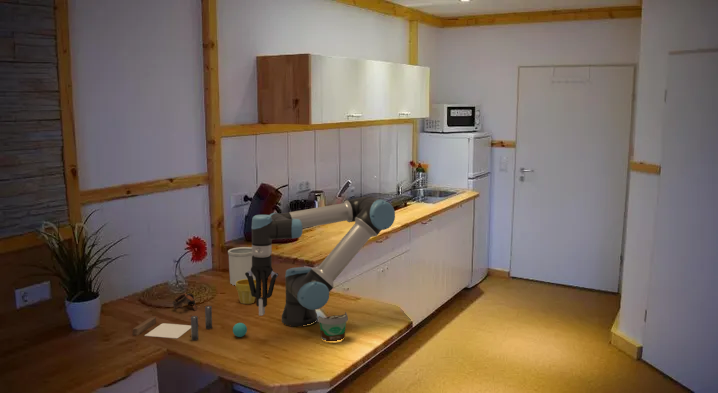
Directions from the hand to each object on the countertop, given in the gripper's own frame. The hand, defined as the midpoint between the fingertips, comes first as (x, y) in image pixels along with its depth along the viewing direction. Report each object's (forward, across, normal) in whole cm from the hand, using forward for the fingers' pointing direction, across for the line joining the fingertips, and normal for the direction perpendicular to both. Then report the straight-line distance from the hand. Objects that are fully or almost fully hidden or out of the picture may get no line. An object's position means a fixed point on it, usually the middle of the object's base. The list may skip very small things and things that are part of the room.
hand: (261, 314), depth 228 cm
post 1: (+10, -25, -6) cm, 28 cm away
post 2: (+10, -25, +7) cm, 28 cm away
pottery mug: (+10, -45, +27) cm, 54 cm away
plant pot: (+10, -22, +42) cm, 49 cm away
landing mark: (+10, -39, 0) cm, 40 cm away
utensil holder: (+10, -36, +72) cm, 81 cm away
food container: (+10, +29, +3) cm, 31 cm away
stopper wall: (+10, -50, 0) cm, 51 cm away
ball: (+7, -9, 0) cm, 12 cm away
